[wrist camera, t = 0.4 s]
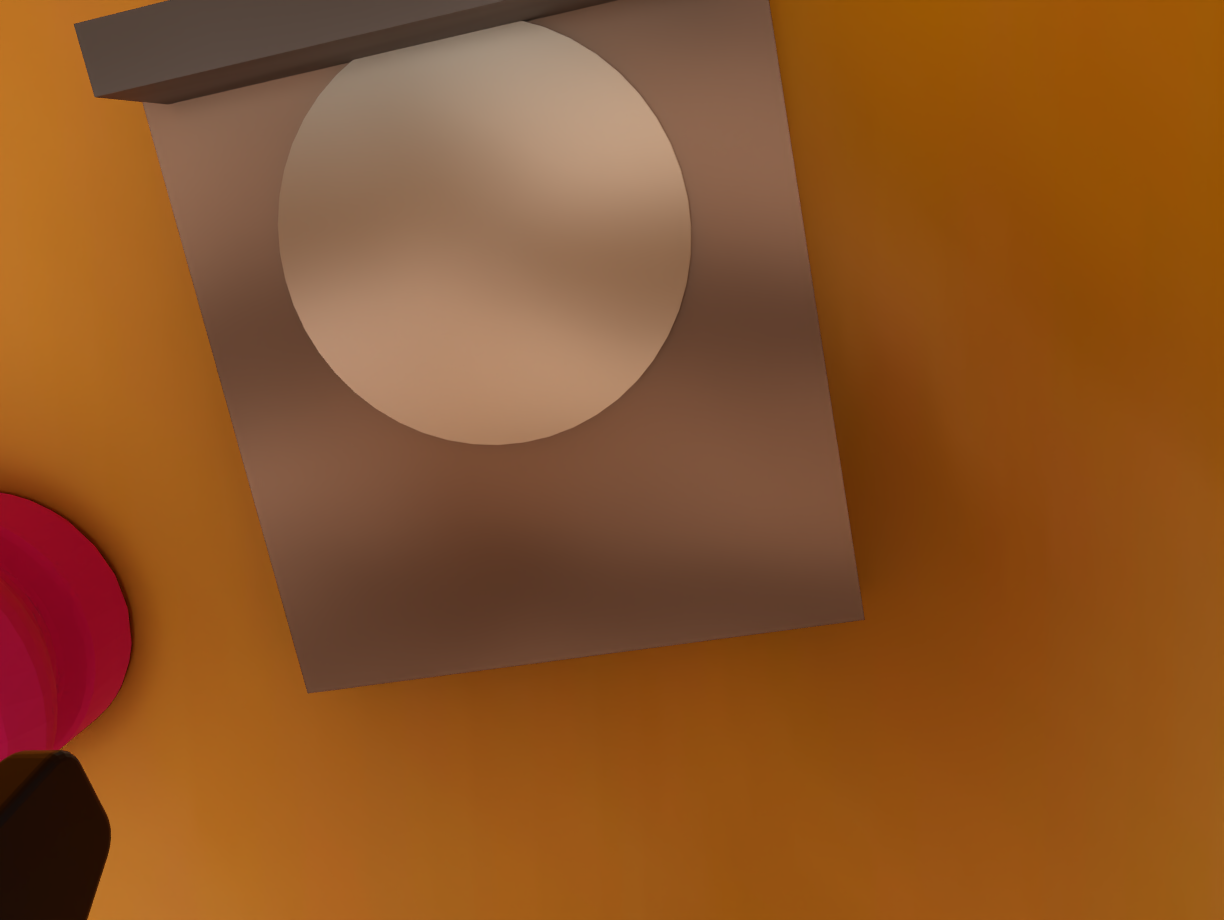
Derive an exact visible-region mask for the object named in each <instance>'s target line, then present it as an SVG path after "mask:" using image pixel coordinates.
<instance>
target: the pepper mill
mask: <svg viewBox="0 0 1224 920" xmlns="http://www.w3.org/2000/svg"><path fill="white" fill-rule="evenodd" d="M131 645H132V642H131V633H130V623H129V614H128V608H127V605H126V602H125V600H124V597H123V594H122V592H121V589H120V586H119V583H118V581H117V578H116V575H115V574H114V573H113V571H112V570H111V568H110V567H109V565H108V564H107V562H106V561H105V560H104V558H103V557H102V555H101V554H100V552H99V551H98V549H97V548H96V547H95V546H94V545H93V544H92V543H91V542H90V541H89V540H88V539H87V538H86V537H85V536H84V535H83V534H82V533H81V532H79V531H78V530H77V529H76V528H75V527H74V526H73V525H72V524H71V523H70V522H69V521H68V520H66V519H65V518H63V517H61V516H60V515H58V514H56V513H55V512H53V511H52V510H50V509H48V508H45V507H43V506H41V505H39V504H37V503H35V502H33V501H31V500H28V499H24V498H21V497H18V496H14V495H11V494H5V493H0V762H1V761H2V760H3V759H5V758H6V757H8V756H10V755H11V754H14V753H16V752H20V751H25V750H59V749H61V748H62V747H63V746H64V745H65V744H67V743H68V742H69V741H70V740H71V739H73V738H74V737H75V736H76V735H77V734H79V733H80V732H81V731H82V730H83V729H85V728H86V727H87V726H88V725H90V724H91V723H92V722H93V721H94V720H96V719H97V718H98V717H99V716H100V715H101V714H102V713H103V712H104V711H105V710H106V709H107V708H108V707H109V705H110V704H111V702H112V701H113V699H114V698H115V697H116V695H117V693H118V691H119V690H120V688H121V686H122V683H123V680H124V677H125V673H126V670H127V667H128V664H129V659H130V652H131Z"/></svg>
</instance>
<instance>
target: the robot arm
mask: <svg viewBox="0 0 1224 920" xmlns="http://www.w3.org/2000/svg"><path fill="white" fill-rule="evenodd" d="M110 841H111V828H110V823H109V819H108V817H107V814H106V812H105V810H104V808H103V806H102V804H101V803H100V801H99V799H98V797H97V795H96V793H95V791H94V789H93V787H92V785H91V783H90V781H89V779H88V777H87V775H86V773H85V771H84V769H83V767H82V765H81V764H80V762H79V760H78V759H77V758H76V757H75V756H74V755H72V754H71V753H70V752H68V751H63V750H25V751H20V752H16V753H14V754H11V755H10V756H8V757H6V758H5V759H3V760H2V761H1V762H0V920H87V918H88V915H89V912H90V909H91V906H92V903H93V900H94V897H95V894H96V891H97V887H98V884H99V881H100V878H101V875H102V872H103V869H104V866H105V863H106V859H107V856H108V852H109V848H110Z"/></svg>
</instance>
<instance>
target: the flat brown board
mask: <svg viewBox="0 0 1224 920" xmlns="http://www.w3.org/2000/svg"><path fill="white" fill-rule="evenodd" d="M74 27H75V30H76V34H77V37H78V41H79V44H80V47H81V51H82V54H83V58H84V61H85V65H86V68H87V72H88V75H89V79H90V82H91V86H92V89H93V93H94V96H95V97H98V98H108V99H118V100H128V101H138V102H143V106H144V109H145V113H146V116H147V120H148V124H149V127H150V131H151V134H152V138H153V141H154V145H155V149H156V152H157V156H158V159H159V163H160V167H161V170H162V174H163V177H164V181H165V184H166V188H167V192H168V195H169V199H170V202H171V206H172V209H173V213H174V217H175V220H176V224H177V227H178V231H179V235H180V238H181V242H182V245H183V249H184V252H185V256H186V260H187V263H188V267H189V270H190V274H191V277H192V281H193V285H194V288H195V292H196V295H197V299H198V302H199V306H200V310H201V313H202V317H203V320H204V324H205V328H206V331H207V335H208V338H209V342H210V345H211V349H212V353H213V356H214V360H215V363H216V367H217V370H218V374H219V378H220V381H221V385H222V388H223V392H224V395H225V399H226V403H227V406H228V410H229V413H230V417H231V421H232V424H233V428H234V431H235V435H236V438H237V442H238V446H239V449H240V453H241V456H242V460H243V463H244V467H245V471H246V474H247V478H248V481H249V485H250V489H251V492H252V496H253V499H254V503H255V506H256V510H257V514H258V517H259V521H260V524H261V528H262V531H263V535H264V539H265V542H266V546H267V549H268V553H269V556H270V560H271V564H272V567H273V571H274V574H275V578H276V582H277V585H278V589H279V592H280V596H281V599H282V603H283V607H284V610H285V614H286V617H287V621H288V624H289V628H290V632H291V635H292V639H293V642H294V646H295V650H296V653H297V657H298V660H299V664H300V667H301V671H302V675H303V678H304V682H305V685H306V689H307V692H308V693H314V692H322V691H330V690H337V689H345V688H352V687H360V686H367V685H375V684H383V683H390V682H398V681H405V680H413V679H420V678H428V677H435V676H443V675H451V674H458V673H466V672H473V671H481V670H488V669H496V668H504V667H511V666H519V665H526V664H534V663H541V662H549V661H556V660H564V659H572V658H579V657H587V656H594V655H602V654H609V653H617V652H625V651H632V650H640V649H647V648H655V647H662V646H670V645H677V644H685V643H693V642H700V641H708V640H715V639H723V638H730V637H738V636H745V635H753V634H761V633H768V632H776V631H783V630H791V629H798V628H806V627H814V626H821V625H829V624H836V623H844V622H851V621H859V620H865V619H864V612H863V606H862V599H861V593H860V586H859V580H858V574H857V567H856V561H855V554H854V548H853V541H852V535H851V528H850V522H849V515H848V509H847V502H846V496H845V490H844V483H843V477H842V470H841V464H840V457H839V451H838V444H837V438H836V431H835V425H834V419H833V412H832V406H831V399H830V393H829V386H828V380H827V373H826V367H825V360H824V354H823V348H822V341H821V335H820V328H819V322H818V315H817V309H816V302H815V296H814V289H813V283H812V276H811V270H810V264H809V257H808V251H807V244H806V238H805V231H804V225H803V218H802V212H801V205H800V199H799V193H798V186H797V180H796V173H795V167H794V160H793V154H792V147H791V141H790V134H789V128H788V122H787V115H786V109H785V102H784V96H783V89H782V83H781V76H780V70H779V63H778V57H777V50H776V44H775V38H774V31H773V25H772V18H771V12H770V5H769V0H168V1H164V2H160V3H156V4H152V5H148V6H144V7H140V8H136V9H132V10H128V11H124V12H120V13H116V14H112V15H108V16H104V17H100V18H96V19H92V20H88V21H84V22H80V23H76V24H74Z"/></svg>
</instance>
